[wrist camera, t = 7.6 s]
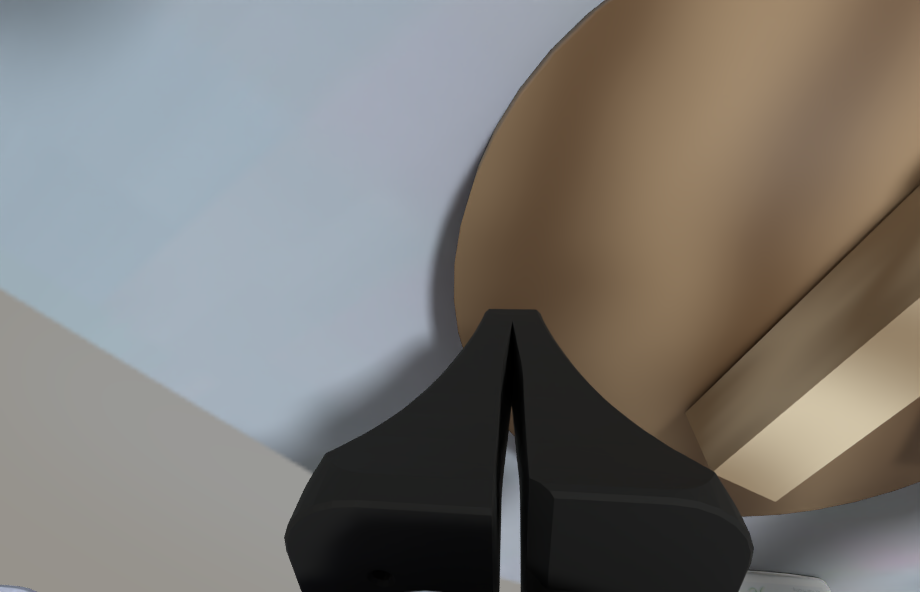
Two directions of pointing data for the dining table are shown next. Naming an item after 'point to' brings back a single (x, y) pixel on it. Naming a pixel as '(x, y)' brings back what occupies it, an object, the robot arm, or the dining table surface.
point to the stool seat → (698, 201)
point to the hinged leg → (822, 368)
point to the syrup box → (781, 583)
